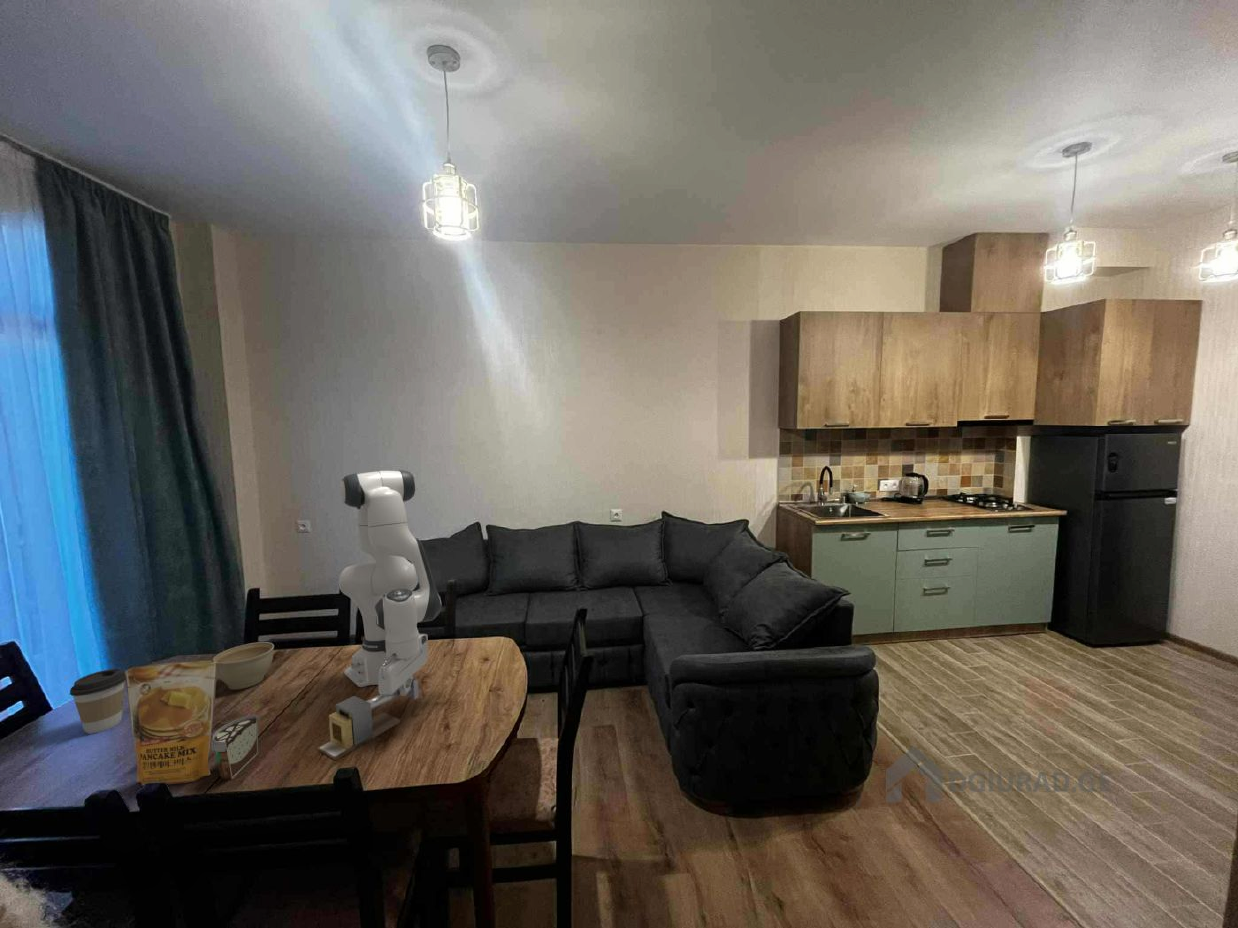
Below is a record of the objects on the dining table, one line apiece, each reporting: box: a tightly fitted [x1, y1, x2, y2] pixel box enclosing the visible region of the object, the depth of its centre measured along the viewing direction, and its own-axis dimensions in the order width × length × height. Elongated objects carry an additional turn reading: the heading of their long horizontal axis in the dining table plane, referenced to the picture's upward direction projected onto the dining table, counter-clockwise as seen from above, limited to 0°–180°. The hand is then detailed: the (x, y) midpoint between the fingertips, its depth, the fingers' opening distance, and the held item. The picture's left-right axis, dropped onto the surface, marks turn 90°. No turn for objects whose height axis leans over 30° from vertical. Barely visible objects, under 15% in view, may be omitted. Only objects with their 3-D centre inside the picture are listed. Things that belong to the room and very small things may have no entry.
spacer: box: [328, 711, 353, 750], centre depth 125 cm, size 7×2×7 cm, turn 59°
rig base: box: [318, 711, 401, 761], centre depth 130 cm, size 8×18×1 cm, turn 149°
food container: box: [210, 714, 260, 780], centre depth 119 cm, size 12×6×10 cm, turn 5°
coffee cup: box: [69, 668, 126, 735], centre depth 138 cm, size 11×11×15 cm
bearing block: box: [335, 695, 374, 749], centre depth 129 cm, size 8×5×10 cm, turn 59°
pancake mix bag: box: [123, 659, 218, 787], centre depth 116 cm, size 7×19×28 cm, turn 96°
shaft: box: [366, 676, 419, 712], centre depth 135 cm, size 8×18×6 cm, turn 149°
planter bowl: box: [212, 641, 275, 690], centre depth 161 cm, size 16×16×11 cm
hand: (405, 693), depth 138 cm, fingers closed
